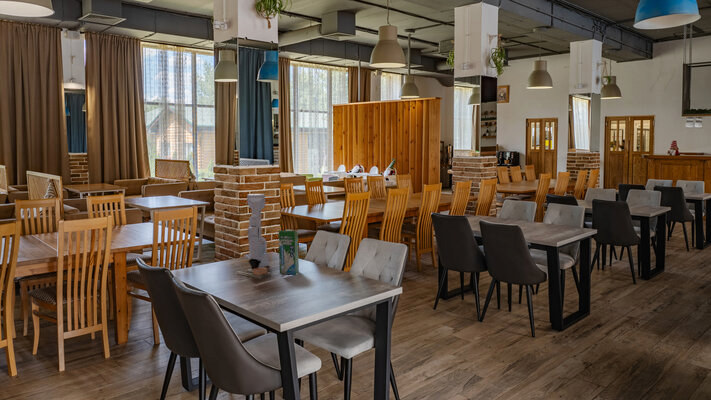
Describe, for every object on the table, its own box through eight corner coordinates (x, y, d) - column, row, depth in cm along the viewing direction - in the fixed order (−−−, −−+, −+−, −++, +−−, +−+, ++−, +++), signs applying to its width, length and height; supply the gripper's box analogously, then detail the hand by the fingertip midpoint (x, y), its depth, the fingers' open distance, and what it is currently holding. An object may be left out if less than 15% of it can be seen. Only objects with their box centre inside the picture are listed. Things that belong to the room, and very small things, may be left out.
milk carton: (298, 271, 308) (297, 228, 305) (295, 275, 299) (294, 230, 296) (283, 271, 309) (282, 228, 306) (279, 274, 300) (278, 230, 297)
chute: (250, 272, 306) (250, 268, 306) (272, 276, 295) (272, 272, 295) (235, 276, 297) (235, 272, 297) (258, 281, 287) (257, 276, 286)
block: (261, 274, 297) (260, 266, 297) (267, 275, 294) (267, 268, 294) (253, 276, 292) (252, 269, 292) (259, 277, 289) (259, 270, 289)
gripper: (239, 248, 295) (240, 272, 297) (258, 250, 286) (258, 275, 288) (249, 246, 301) (250, 269, 302) (267, 248, 292) (268, 273, 294)
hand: (255, 272), depth 295 cm, fingers closed
